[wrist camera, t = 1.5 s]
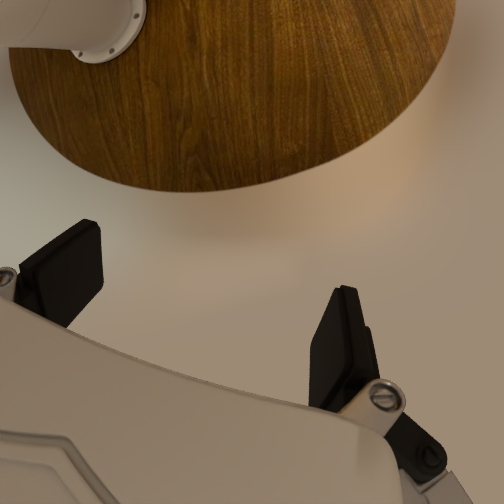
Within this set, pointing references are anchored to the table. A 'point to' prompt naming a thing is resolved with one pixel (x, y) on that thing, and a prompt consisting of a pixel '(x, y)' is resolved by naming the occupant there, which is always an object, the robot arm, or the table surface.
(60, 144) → the table surface
